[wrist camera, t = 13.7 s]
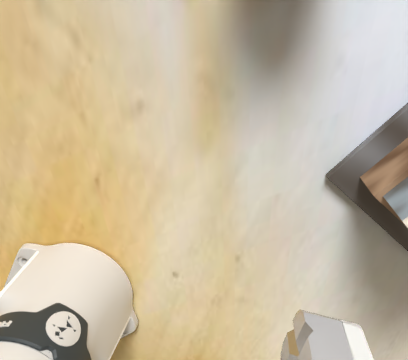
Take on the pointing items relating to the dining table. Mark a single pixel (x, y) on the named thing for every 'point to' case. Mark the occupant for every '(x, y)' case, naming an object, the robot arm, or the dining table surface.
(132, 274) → the dining table surface
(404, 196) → the stacked open-top box
